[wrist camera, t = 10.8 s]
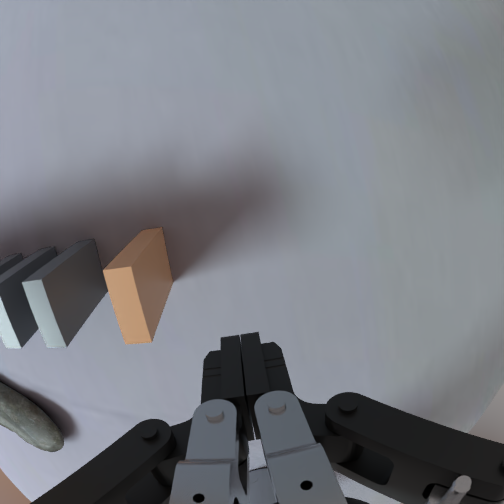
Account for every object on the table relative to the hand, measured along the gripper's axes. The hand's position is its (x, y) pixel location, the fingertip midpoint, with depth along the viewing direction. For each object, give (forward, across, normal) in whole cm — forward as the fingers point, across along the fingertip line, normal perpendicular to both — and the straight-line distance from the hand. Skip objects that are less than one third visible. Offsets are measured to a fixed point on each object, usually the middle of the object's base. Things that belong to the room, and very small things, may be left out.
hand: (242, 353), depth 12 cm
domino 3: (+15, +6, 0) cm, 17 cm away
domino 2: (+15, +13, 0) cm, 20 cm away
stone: (+16, +34, +19) cm, 42 cm away
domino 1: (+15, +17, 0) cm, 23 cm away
